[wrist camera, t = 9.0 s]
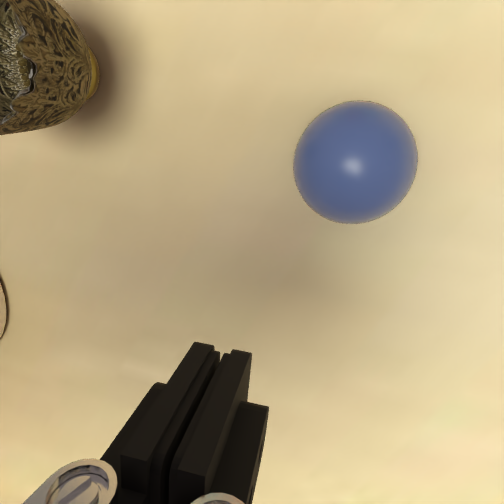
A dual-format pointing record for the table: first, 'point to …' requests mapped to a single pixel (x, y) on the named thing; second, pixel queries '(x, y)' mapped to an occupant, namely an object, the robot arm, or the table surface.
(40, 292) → the table surface
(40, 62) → the cup
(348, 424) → the table surface
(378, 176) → the blue ball
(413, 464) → the table surface
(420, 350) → the table surface
